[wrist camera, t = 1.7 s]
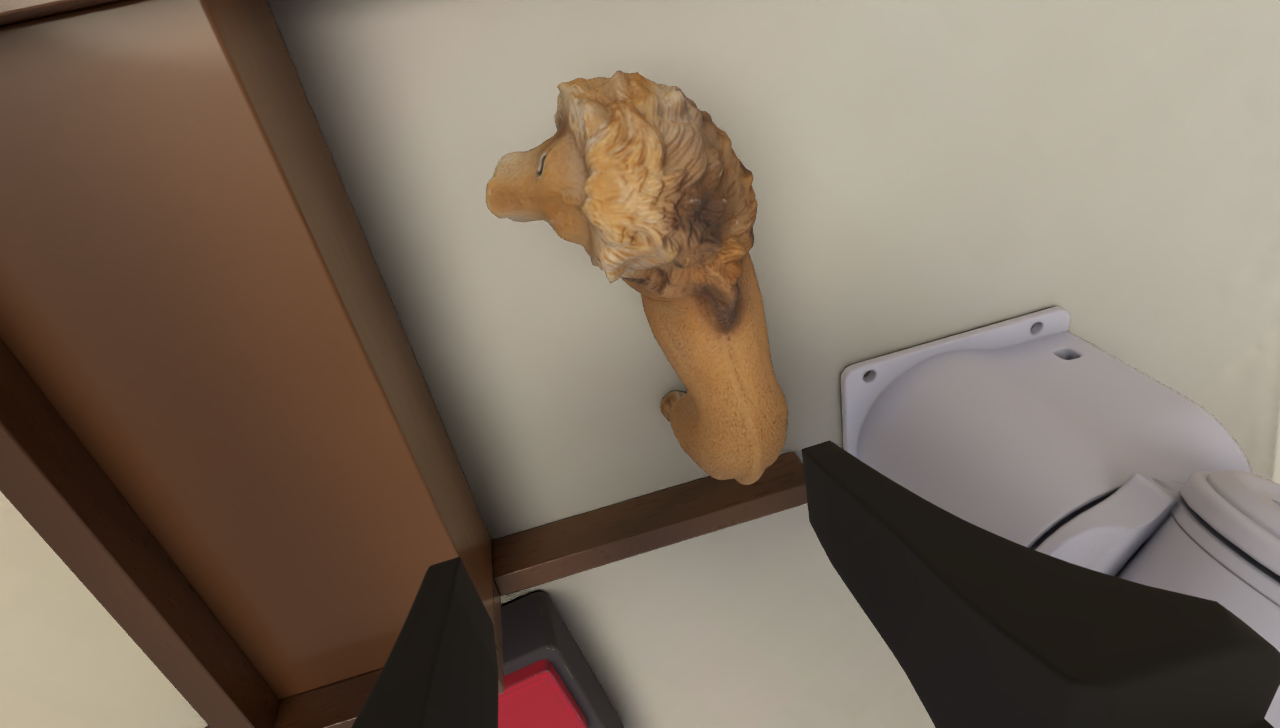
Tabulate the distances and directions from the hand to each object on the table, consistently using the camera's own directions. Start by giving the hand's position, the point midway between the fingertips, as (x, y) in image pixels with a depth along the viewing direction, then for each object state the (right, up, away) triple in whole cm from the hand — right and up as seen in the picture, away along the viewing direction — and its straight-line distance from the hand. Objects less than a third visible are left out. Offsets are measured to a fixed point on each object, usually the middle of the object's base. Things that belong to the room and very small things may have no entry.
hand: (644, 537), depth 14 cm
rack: (-6, +5, +8) cm, 11 cm away
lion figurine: (0, +7, +9) cm, 11 cm away
